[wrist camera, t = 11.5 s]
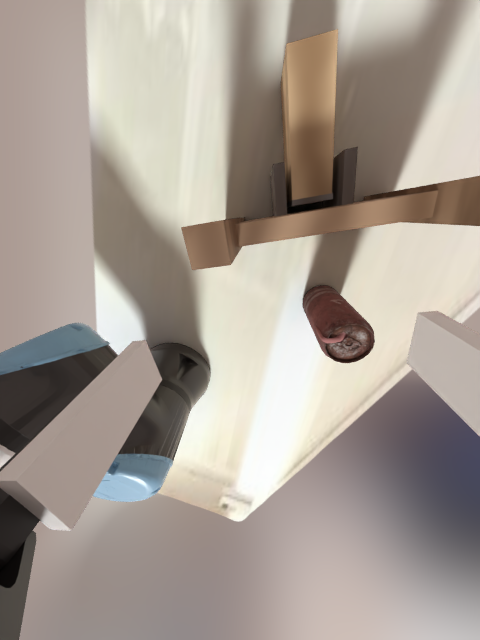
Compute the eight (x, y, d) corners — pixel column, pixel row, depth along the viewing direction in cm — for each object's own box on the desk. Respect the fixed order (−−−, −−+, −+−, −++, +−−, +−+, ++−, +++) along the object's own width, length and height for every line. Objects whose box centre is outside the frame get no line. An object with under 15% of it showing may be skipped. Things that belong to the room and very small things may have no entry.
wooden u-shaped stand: (228, 241, 34) (192, 270, 16) (219, 186, 30) (160, 146, 13) (384, 216, 30) (561, 218, 12) (392, 152, 27) (650, 29, 9)
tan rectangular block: (286, 207, 31) (292, 205, 25) (280, 83, 25) (286, 41, 19) (318, 202, 30) (333, 198, 24) (320, 73, 24) (339, 26, 18)
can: (302, 284, 36) (323, 321, 23) (340, 284, 35) (384, 322, 23) (299, 316, 38) (317, 365, 26) (335, 316, 38) (371, 366, 25)
